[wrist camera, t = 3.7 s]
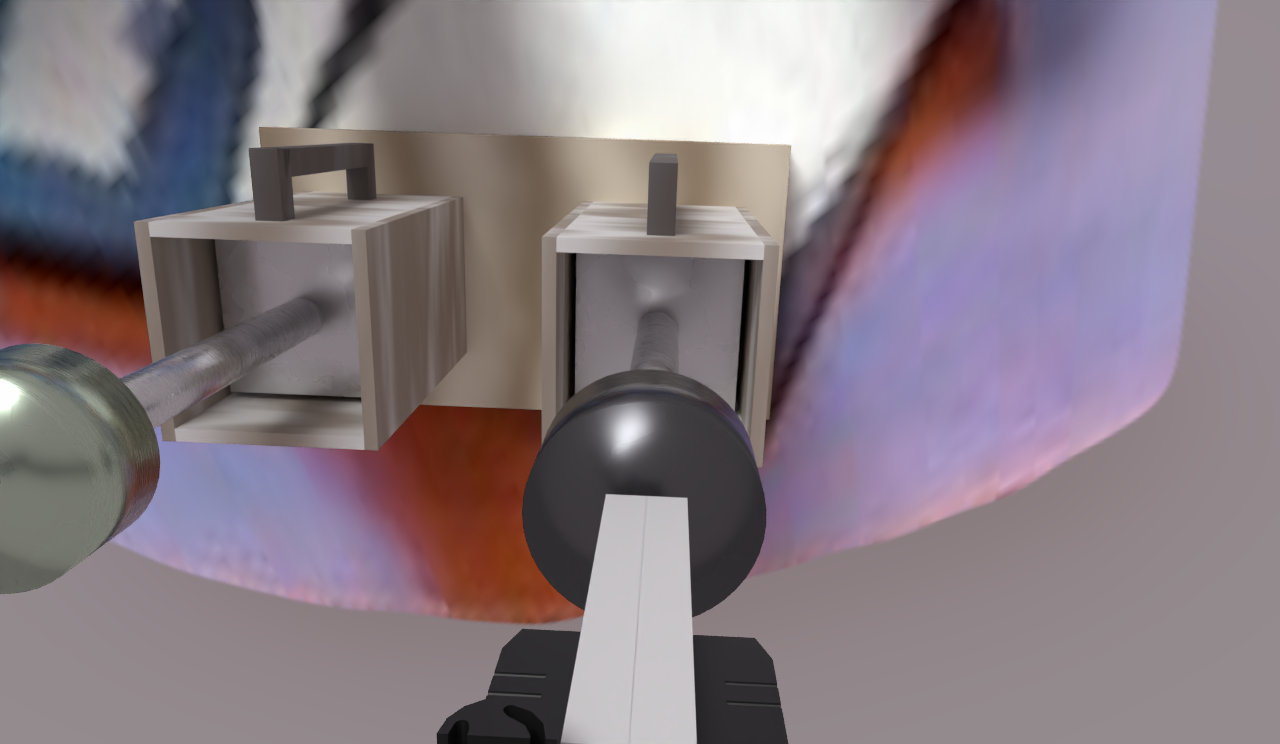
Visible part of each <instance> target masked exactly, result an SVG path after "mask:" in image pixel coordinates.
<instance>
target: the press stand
mask: <svg viewBox="0 0 1280 744" xmlns="http://www.w3.org/2000/svg"><path fill="white" fill-rule="evenodd" d="M259 133H260V144H261V148H249V156H250V167H251V178H252V189H253V200H251V201H246V202H240V203H234V204H229V205H223V206H218V207H212V208H206V209H201V210H195V211H190V212H184V213H178V214H173V215H167V216H162V217H156V218H150V219H145V220H139V221H134V228H135V235H136V243H137V250H138V258H139V265H140V273H141V280H142V288H143V295H144V303H145V311H146V318H147V326H148V333H149V341H150V348H151V356H152V363H155V362H157V361H159V360H161V359H163V358H165V357H168V356H170V355H172V354H174V353H176V352H179V351H181V350H183V349H185V348H187V347H189V346H192V345H194V344H196V343H198V342H200V341H203V340H205V339H207V338H209V337H211V336H214V335H216V334H218V333H220V332H222V331H224V324H223V314H222V305H221V296H220V286H219V277H218V267H217V258H216V249H215V239H223V240H250V241H276V242H302V243H329V244H352V254H353V270H354V287H355V303H356V319H357V335H358V351H359V367H360V383H361V397H344V396H320V395H297V394H274V393H250V392H231V389H230V385H228V386H226V387H224V388H223V389H221V390H219V391H218V392H216V393H214V394H212V395H211V396H209V397H207V398H206V399H204V400H202V401H201V402H199V403H197V404H195V405H194V406H192V407H190V408H189V409H187V410H185V411H183V412H182V413H180V414H178V415H177V416H175V417H173V418H171V419H170V420H168V421H166V422H165V423H163V424H161V431H162V439H163V441H177V442H200V443H222V444H245V445H267V446H290V447H312V448H335V449H357V450H379V449H380V448H381V447H382V446H383V445H384V443H385V442H386V441H387V440H388V439H389V438H390V437H391V436H392V435H393V434H394V432H395V431H396V430H397V429H398V428H399V427H400V426H401V425H402V424H403V422H404V421H405V420H406V419H407V418H408V417H409V416H410V415H411V414H412V413H413V411H414V410H415V409H416V408H417V407H418V406H419V405H440V406H464V407H487V408H510V409H534V410H542V443H543V441H544V438H545V436H546V433H547V431H548V429H549V427H550V425H551V423H552V421H553V419H554V418H555V416H556V415H557V413H558V412H559V411H560V409H561V408H562V407H563V406H564V405H565V404H566V403H567V402H568V401H569V399H570V398H571V397H573V396H574V395H575V344H576V259H577V253H592V254H618V255H645V256H671V257H697V258H724V259H745V265H744V280H743V295H742V309H741V324H740V339H739V354H738V369H737V384H736V399H735V413H736V414H737V415H738V417H739V418H740V420H741V422H742V423H743V425H744V427H745V429H746V431H747V433H748V436H749V438H750V441H751V445H752V448H753V452H754V456H755V460H756V464H757V467H762V464H763V451H764V439H765V426H766V419H767V420H769V418H770V405H771V393H772V380H773V368H774V355H775V342H776V330H777V317H778V305H779V292H780V279H781V267H782V254H783V242H784V229H785V216H786V204H787V191H788V179H789V166H790V153H791V145H781V144H752V143H723V142H694V141H665V140H636V139H607V138H578V137H549V136H520V135H490V134H461V133H432V132H403V131H374V130H345V129H316V128H287V127H259Z"/></svg>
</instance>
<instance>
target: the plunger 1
mask: <svg viewBox="0 0 1280 744" xmlns="http://www.w3.org/2000/svg"><path fill="white" fill-rule="evenodd" d="M215 249H216V258H217V267H218V277H219V286H220V296H221V305H222V314H223V324H224V331H222V332H220V333H218V334H216V335H214V336H211V337H209V338H207V339H205V340H203V341H200V342H198V343H196V344H194V345H192V346H189V347H187V348H185V349H183V350H181V351H179V352H176V353H174V354H172V355H170V356H168V357H165V358H163V359H161V360H159V361H157V362H155V363H152V364H150V365H148V366H146V367H144V368H141V369H139V370H137V371H135V372H133V373H130V374H128V375H126V376H124V377H122V378H120V379H119V378H118V377H117V376H115V375H114V374H113V373H112V372H110V371H109V370H108V369H107V368H105V367H104V366H102V365H100V364H99V363H97V362H96V361H94V360H92V359H90V358H88V357H86V356H84V355H82V354H80V353H77V352H74V351H72V350H69V349H66V348H62V347H57V346H53V345H45V344H21V345H15V346H10V347H6V348H3V349H0V594H11V593H19V592H26V591H30V590H33V589H37V588H40V587H42V586H44V585H47V584H49V583H51V582H53V581H54V580H56V579H57V578H59V577H60V576H62V575H63V574H65V573H66V572H67V571H69V570H70V569H72V568H73V567H74V566H76V565H77V564H78V563H80V562H81V561H82V560H84V559H85V558H86V557H88V556H89V555H91V554H92V553H93V552H95V551H96V550H97V549H98V548H100V547H101V546H103V545H104V544H105V543H107V542H108V541H110V540H111V539H112V538H114V537H115V536H116V535H118V534H119V533H120V532H122V531H123V530H124V529H126V528H127V527H129V526H130V525H131V524H132V523H133V522H134V521H136V520H137V519H138V518H139V517H140V516H141V514H142V513H143V512H144V511H145V510H146V508H147V507H148V505H149V503H150V502H151V500H152V498H153V495H154V493H155V490H156V488H157V483H158V479H159V471H160V455H159V447H158V442H157V438H156V435H155V432H154V428H156V427H158V426H159V425H161V424H163V423H165V422H166V421H168V420H170V419H171V418H173V417H175V416H177V415H178V414H180V413H182V412H183V411H185V410H187V409H189V408H190V407H192V406H194V405H195V404H197V403H199V402H201V401H202V400H204V399H206V398H207V397H209V396H211V395H212V394H214V393H216V392H218V391H219V390H221V389H223V388H224V387H226V386H228V385H230V389H231V392H250V393H274V394H297V395H320V396H344V397H361V383H360V367H359V351H358V335H357V319H356V303H355V287H354V270H353V254H352V244H329V243H302V242H276V241H250V240H223V239H215Z"/></svg>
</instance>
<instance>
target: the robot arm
mask: <svg viewBox="0 0 1280 744" xmlns="http://www.w3.org/2000/svg"><path fill="white" fill-rule="evenodd" d="M437 744H788V740H787V734H786V729H785V724H784V718H783V713H782V709H781V702H780V697H779V691H778V688H777V681H776V675H775V670H774V665H773V660H772V658H771V657H770V656H769V655H768V654H767V652H766V651H765V650H764V649H763V647H762V646H761V645H760V644H759V642H758V641H757V640H756V639H755V638H743V637H723V636H721V637H720V636H703V635H701V636H700V635H693V631H692V605H691V579H690V553H689V527H688V501H687V498H680V497H658V496H636V495H614V494H606V497H605V502H604V508H603V513H602V519H601V524H600V530H599V535H598V541H597V546H596V551H595V557H594V562H593V568H592V573H591V579H590V584H589V590H588V595H587V601H586V606H585V612H584V617H583V623H582V628H581V632H572V631H554V630H534V629H522V630H521V631H520V632H519V633H518V634H517V635H516V636H515V637H513V638H512V639H511V640H510V641H509V642H508V643H507V644H506V645H505V646H504V647H503V648H502V651H501V654H500V657H499V660H498V663H497V666H496V669H495V674H494V676H493V678H492V681H491V685H490V687H489V690H488V696H487V697H486V699H485V700H482V701H479V702H476V703H473V704H470V705H467V706H464V707H463V708H461V709H460V710H458V711H457V712H455V713H454V714H453V715H451V716H450V717H448V718H447V719H446V721H445V722H444V724H443V725H442V726H441V728H440V729H439V731H438V733H437Z"/></svg>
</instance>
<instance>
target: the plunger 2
mask: <svg viewBox="0 0 1280 744" xmlns="http://www.w3.org/2000/svg"><path fill="white" fill-rule="evenodd" d="M744 265H745V259H724V258H697V257H671V256H645V255H618V254H592V253H577V259H576V344H575V395H574V396H573V397H571V398H570V399H569V401H568V402H567V403H566V404H565V405H564V406H563V407H562V408H561V409H560V411H559V412H558V413H557V415H556V416H555V418H554V419H553V421H552V423H551V425H550V427H549V429H548V431H547V433H546V436H545V438H544V441H543V443H542V445H541V448H540V450H539V453H538V455H537V458H536V460H535V463H534V465H533V467H532V470H531V472H530V475H529V478H528V481H527V483H526V488H525V492H524V497H523V509H522V516H523V528H524V533H525V537H526V542H527V544H528V547H529V550H530V552H531V555H532V557H533V559H534V561H535V563H536V565H537V566H538V568H539V570H540V571H541V572H542V574H543V575H544V577H545V578H546V579H547V581H548V582H549V583H550V584H551V585H552V586H553V587H554V588H555V589H556V590H557V591H558V592H559V593H560V594H561V595H563V596H564V597H565V598H566V599H567V600H569V601H570V602H572V603H573V604H575V605H576V606H578V607H579V608H581V609H583V610H585V606H586V601H587V595H588V590H589V584H590V579H591V573H592V568H593V562H594V557H595V551H596V546H597V541H598V535H599V530H600V524H601V519H602V513H603V508H604V502H605V497H606V494H614V495H636V496H658V497H680V498H687V501H688V527H689V553H690V579H691V605H692V617H694V616H697V615H700V614H701V613H703V612H705V611H707V610H709V609H711V608H713V607H714V606H716V605H717V604H719V603H720V602H722V601H723V600H724V599H726V598H727V597H728V596H729V595H730V594H731V593H732V592H733V591H735V590H736V588H737V587H738V586H739V585H740V584H741V583H742V582H743V580H744V579H745V578H746V577H747V575H748V573H749V572H750V570H751V569H752V567H753V566H754V564H755V561H756V559H757V557H758V555H759V553H760V550H761V546H762V543H763V540H764V534H765V528H766V505H765V497H764V492H763V488H762V484H761V480H760V476H759V472H758V468H757V464H756V460H755V456H754V452H753V448H752V445H751V441H750V438H749V436H748V433H747V431H746V429H745V427H744V425H743V423H742V422H741V420H740V418H739V417H738V415H737V414H736V413H735V399H736V384H737V369H738V354H739V339H740V324H741V309H742V295H743V280H744Z"/></svg>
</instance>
